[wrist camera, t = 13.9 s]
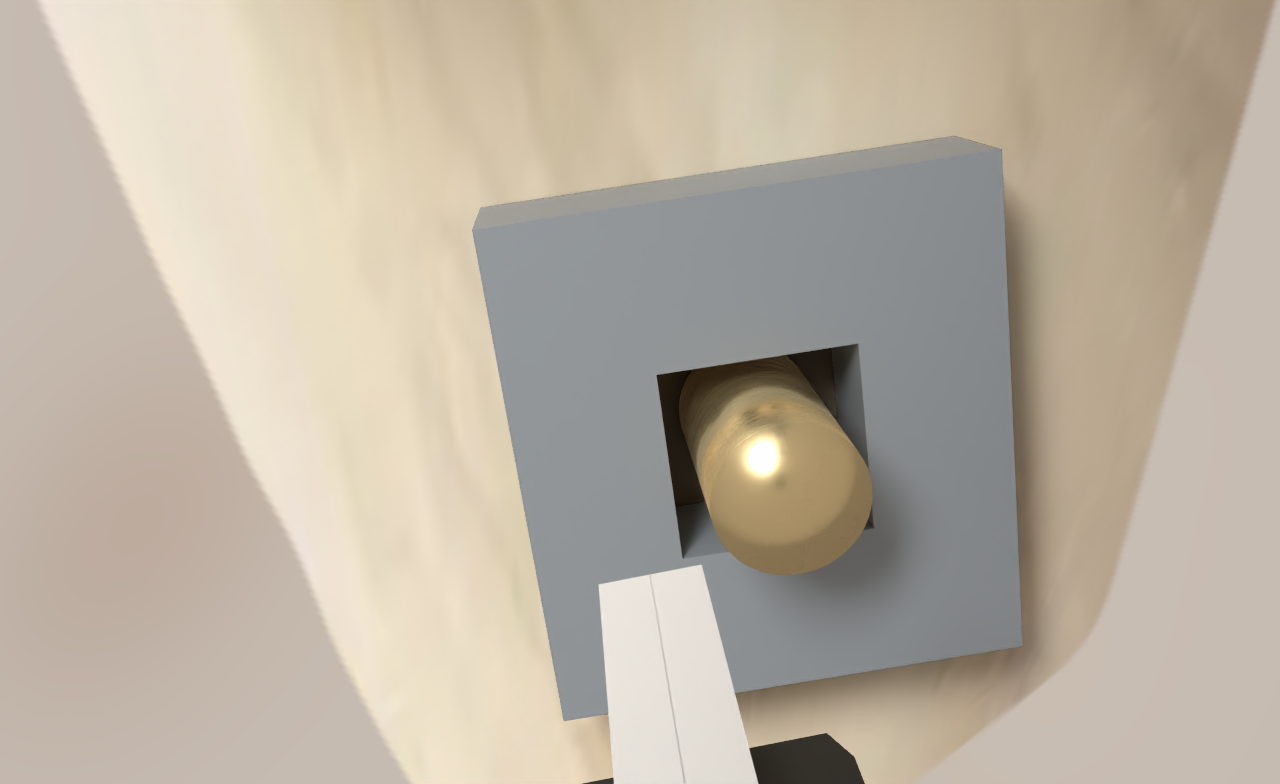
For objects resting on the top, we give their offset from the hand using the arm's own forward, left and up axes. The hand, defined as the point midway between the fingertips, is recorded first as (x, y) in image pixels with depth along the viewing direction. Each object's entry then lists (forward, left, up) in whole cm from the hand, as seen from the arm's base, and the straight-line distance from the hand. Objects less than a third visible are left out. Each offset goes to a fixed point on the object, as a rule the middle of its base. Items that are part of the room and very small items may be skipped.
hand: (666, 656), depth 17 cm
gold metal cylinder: (+4, +4, -22) cm, 22 cm away
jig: (+4, +4, -22) cm, 22 cm away
